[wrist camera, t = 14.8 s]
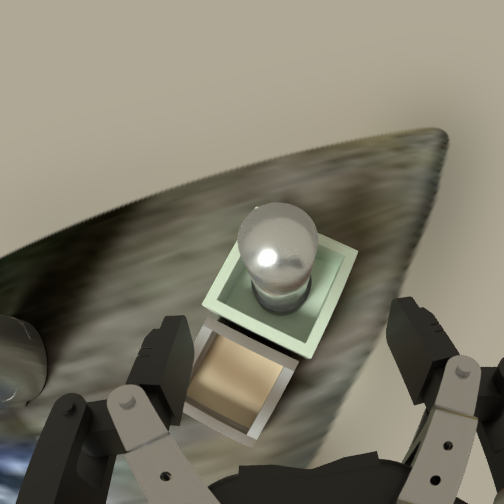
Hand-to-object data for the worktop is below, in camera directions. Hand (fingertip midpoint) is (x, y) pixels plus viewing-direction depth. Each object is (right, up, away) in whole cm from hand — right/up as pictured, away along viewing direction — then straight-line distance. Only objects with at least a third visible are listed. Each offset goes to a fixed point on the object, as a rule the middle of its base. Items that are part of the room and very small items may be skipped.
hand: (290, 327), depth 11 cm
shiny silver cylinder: (+1, 0, +13) cm, 13 cm away
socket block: (-3, -8, +12) cm, 15 cm away
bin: (+1, 0, +14) cm, 14 cm away
